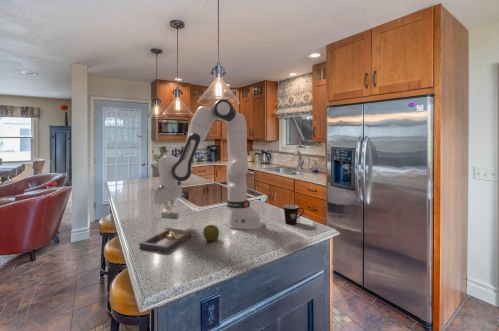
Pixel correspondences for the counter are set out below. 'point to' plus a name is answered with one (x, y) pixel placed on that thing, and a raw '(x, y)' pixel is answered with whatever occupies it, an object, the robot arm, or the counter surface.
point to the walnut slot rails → (182, 239)
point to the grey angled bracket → (155, 247)
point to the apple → (211, 232)
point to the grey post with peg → (169, 213)
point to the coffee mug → (291, 214)
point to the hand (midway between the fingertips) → (169, 208)
